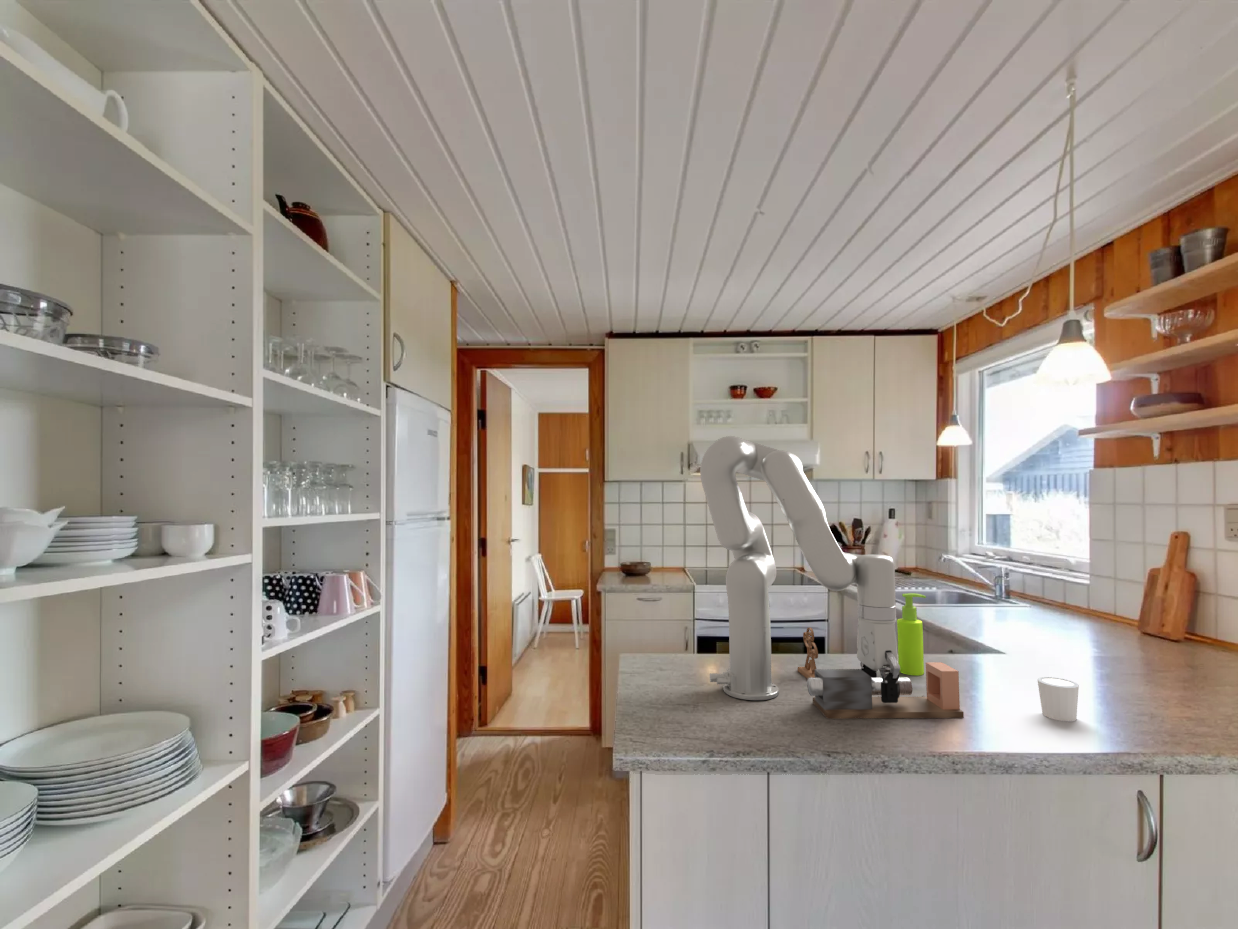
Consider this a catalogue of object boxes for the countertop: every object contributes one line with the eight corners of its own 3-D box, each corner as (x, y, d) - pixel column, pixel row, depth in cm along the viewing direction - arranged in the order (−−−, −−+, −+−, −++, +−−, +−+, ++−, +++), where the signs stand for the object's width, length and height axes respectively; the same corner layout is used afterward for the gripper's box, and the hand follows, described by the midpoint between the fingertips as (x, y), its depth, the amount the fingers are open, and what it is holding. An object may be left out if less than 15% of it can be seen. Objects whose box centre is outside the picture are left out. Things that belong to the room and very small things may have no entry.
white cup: (1082, 725, 116) (1081, 689, 116) (1040, 718, 120) (1038, 683, 120) (1078, 714, 122) (1076, 679, 122) (1037, 707, 126) (1036, 674, 126)
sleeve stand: (827, 718, 120) (826, 679, 121) (812, 703, 129) (812, 667, 130) (963, 717, 120) (962, 679, 121) (939, 702, 129) (938, 666, 130)
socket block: (942, 709, 122) (941, 671, 122) (926, 698, 128) (925, 662, 128) (959, 709, 122) (958, 671, 122) (942, 698, 128) (941, 662, 128)
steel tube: (814, 703, 122) (813, 678, 123) (806, 694, 127) (805, 670, 128) (914, 702, 122) (914, 677, 123) (902, 694, 128) (902, 669, 128)
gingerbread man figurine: (825, 680, 144) (824, 631, 145) (810, 681, 144) (809, 632, 145) (811, 670, 153) (810, 623, 154) (797, 670, 153) (796, 624, 154)
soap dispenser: (931, 676, 147) (929, 596, 148) (902, 675, 149) (899, 595, 150) (924, 669, 153) (921, 592, 154) (895, 668, 154) (893, 591, 155)
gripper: (843, 605, 134) (845, 681, 134) (877, 622, 117) (879, 709, 116) (876, 605, 134) (878, 681, 134) (914, 621, 117) (917, 709, 116)
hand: (879, 694), depth 125 cm, fingers open, 9 cm apart
